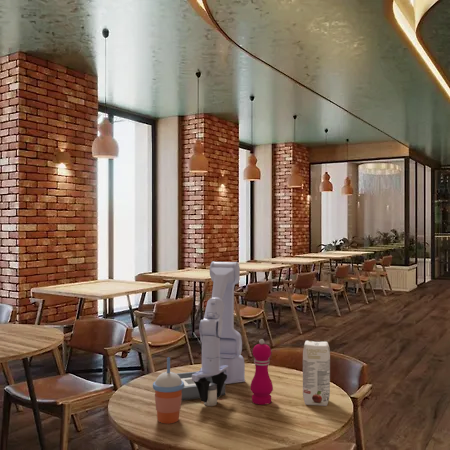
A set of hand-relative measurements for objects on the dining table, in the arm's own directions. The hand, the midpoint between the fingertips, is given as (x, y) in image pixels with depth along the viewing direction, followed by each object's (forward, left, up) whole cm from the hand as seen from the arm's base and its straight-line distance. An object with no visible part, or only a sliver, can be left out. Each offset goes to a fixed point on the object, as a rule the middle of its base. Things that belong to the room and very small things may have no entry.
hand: (210, 399), depth 160 cm
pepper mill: (-16, +4, -2) cm, 17 cm away
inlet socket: (+1, -14, -1) cm, 14 cm away
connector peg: (0, 0, -1) cm, 1 cm away
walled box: (+1, -14, -1) cm, 14 cm away
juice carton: (-32, +11, -2) cm, 34 cm away
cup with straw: (+16, +8, -2) cm, 18 cm away
